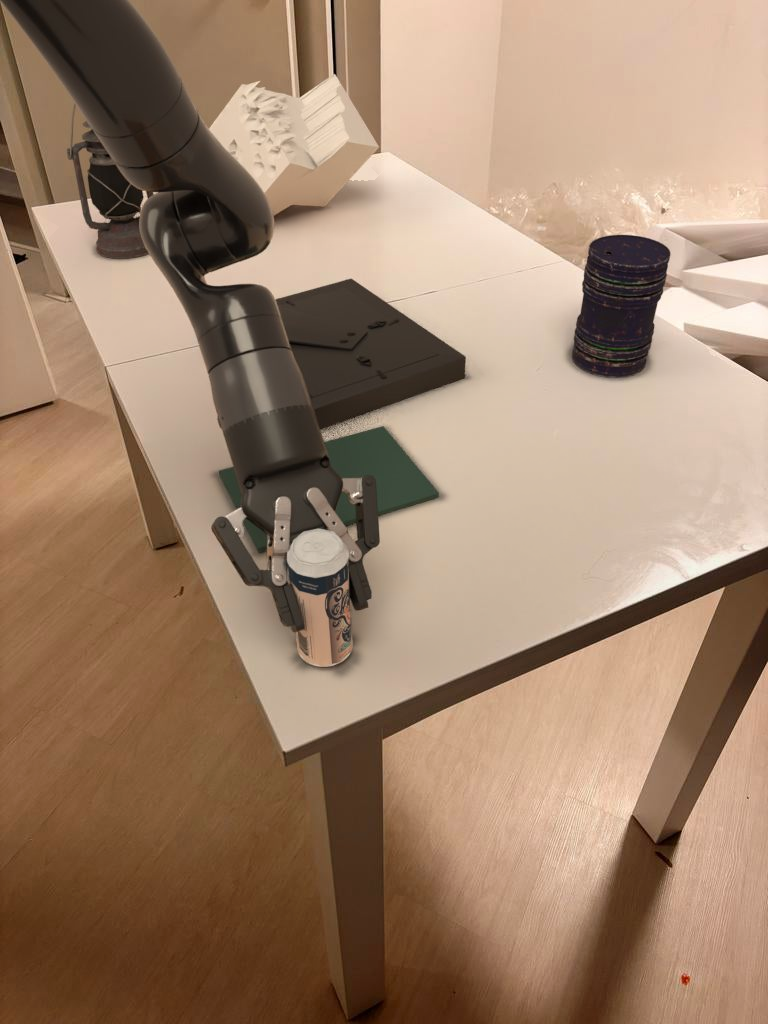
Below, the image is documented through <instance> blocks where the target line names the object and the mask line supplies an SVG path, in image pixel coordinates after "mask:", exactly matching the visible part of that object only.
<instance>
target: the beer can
mask: <svg viewBox="0 0 768 1024" xmlns="http://www.w3.org/2000/svg"><path fill="white" fill-rule="evenodd" d="M348 557H349V551H348V548H347V546H346V545H345V544H344V543H343V542H342V540H341V539H340V538H339V537H338V536H337V535H336V534H335V533H334V532H333V531H328V530H324V529H314V530H309V531H304V532H303V533H301V534H300V535H299V536H298V537H297V538H295V539H294V540H293V542H292V543H290V545H289V552H288V553H287V563H288V571H287V573H288V580H289V581H288V582H289V584H292V587H293V590H294V593H295V596H296V600H297V603H298V606H299V609H300V612H301V616H302V619H303V622H304V626H305V629H304V630H301V631H298V632H294V633H295V640H296V649H297V653H298V655H299V657H300V658H301V659H302V660H303V661H304V662H306V663H307V664H309V665H311V666H313V667H321V668H326V667H333V666H336V665H338V664H340V663H342V662H344V661H345V660H346V659H347V658H348V657H349V656H350V655H351V653H352V651H353V647H354V642H353V625H352V609H351V608H352V602H351V599H350V583H349V560H348Z"/></svg>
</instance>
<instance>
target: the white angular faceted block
mask: <svg viewBox="0 0 768 1024" xmlns="http://www.w3.org/2000/svg"><path fill="white" fill-rule="evenodd" d="M259 83H261V80H259V81H255V82H251V83H248V84H244V83H241V84H240V86H239V88H238V89H237V90H236V91H235V92H234V94H233V96H232V97H231V99H230V100H229V101H228V102H227V103H226V105H225V107H224V108H223V109H222V111H220V113H219V114H218V116H217V117H216V119H215V120H214V121H213V123H212V124H211V125H210V127H208V129H209V130H210V131H211V133H212V134H213V135H214V136H215V137H216V139H217V140H218V141H219V142H220V143H221V144H222V146H223V147H224V148H225V149H226V150H227V151H228V152H229V153H230V154H231V155H232V156H233V157H234V158H235V159H236V160H237V161H238V162H239V163H240V164H241V165H242V166H243V167H244V168H245V169H246V170H247V171H248V172H249V173H250V174H251V176H252V177H253V178H254V179H255V180H256V181H257V183H258V184H259V185H260V187H261V188H262V190H263V191H264V193H265V195H266V197H267V199H268V201H269V203H270V205H271V208H272V212H273V216H276V215H278V214H279V213H281V212H282V211H284V210H285V209H288V208H289V207H290V206H292V205H296V206H311V207H326V206H327V205H328V204H329V203H330V202H331V201H332V199H333V198H334V197H336V195H337V194H338V193H339V192H340V191H341V190H342V189H343V188H344V186H345V185H347V183H348V182H349V181H350V180H351V179H352V178H353V177H354V176H355V175H356V173H357V172H358V171H359V170H360V169H361V168H362V167H363V166H364V164H366V163H367V161H369V159H370V158H371V157H372V156H373V155H374V154H375V152H377V151H378V149H379V148H380V146H379V144H378V142H377V141H376V140H375V138H374V136H373V134H372V133H371V131H370V129H369V128H368V126H367V125H366V123H365V122H364V120H363V118H362V117H361V115H360V113H359V111H358V109H357V108H356V107H355V105H354V103H353V101H352V100H351V98H350V96H349V95H348V93H347V91H346V90H345V88H344V86H343V85H342V84H341V83H342V82H341V81H340V80H339V78H338V76H337V75H336V74H335V73H333V74H332V75H330V76H329V77H327V78H326V79H324V80H323V81H321V82H320V83H319V84H317V85H316V86H314V87H313V88H311V89H310V90H308V91H307V92H306V93H304V94H303V95H302V96H300V97H297V96H293V95H289V94H287V93H283V92H282V93H281V92H277V91H272V90H271V89H270V90H267V89H266V86H265V87H257V85H258V84H259Z"/></svg>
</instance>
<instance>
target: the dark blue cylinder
mask: <svg viewBox="0 0 768 1024" xmlns="http://www.w3.org/2000/svg"><path fill="white" fill-rule="evenodd" d="M587 251H588V252H587V258H586V264H585V265H584V270H583V280H582V282H581V286H582V287H581V291H582V294H583V295H582V300H581V307H580V313H579V314H578V316H577V317H576V318H577V319H576V322H575V329H574V334H573V349H572V353H571V359H572V362H573V363H574V365H576V367H578V368H579V369H581V370H582V371H584V372H586V373H588V374H591V375H594V376H598V377H603V378H609V379H611V378H612V379H620V378H628V377H632V376H635V375H638V374H639V373H641V372H643V370H644V369H645V368H646V365H647V357H648V355H649V353H650V350H651V347H652V343H653V336H654V333H655V323H654V321H655V316H656V312H657V307H658V304H659V301H660V300H661V298H662V296H663V293H664V287H665V285H666V280H667V277H668V274H667V272H668V267H669V263H670V259H671V255H672V254H671V250H670V248H669V247H668V246H667V245H665V244H664V243H662V242H660V241H659V240H656V239H652V238H650V237H645V236H641V235H633V234H611V235H605V236H600V237H598V238H596V239H594V240H592V241H591V242H590V243H589V245H588V250H587Z"/></svg>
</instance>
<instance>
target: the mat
mask: <svg viewBox="0 0 768 1024" xmlns="http://www.w3.org/2000/svg"><path fill="white" fill-rule="evenodd" d="M324 443H325V446H326V449H327V452H328V456H329V459H330V463H331V465H332V467H333V468H334V470H335V471H336V472H337V473H338V474H339V475H340V476H341V478H362V477H363V476H365V475H371V476H373V477H374V478H375V480H376V491H377V506H378V517H379V516H382V515H385V514H389V513H393V512H395V511H399V510H402V509H405V508H408V507H411V506H415V505H418V504H421V503H424V502H428V501H430V500H434V499H437V498H440V491H438V489H436V487H435V486H434V485H433V484H432V483H431V481H430V480H429V479H428V478H427V477H426V475H425V474H424V472H422V470H420V468H419V467H418V466H417V465H416V464H415V462H414V461H413V460H412V459H411V457H410V456H409V454H407V453H406V451H405V450H404V449H403V448H402V447H401V445H400V444H399V443H398V442H397V441H396V439H395V438H394V437H393V436H392V434H390V433H389V431H388V430H387V429H386V428H385V426H384V425H382V426H379V427H374V428H371V429H368V430H363V431H360V432H357V433H352V434H348V435H345V436H341V437H338V438H333V439H331V440H327V441H324ZM218 476H219V478H220V480H221V482H222V483H223V486H224V488H225V490H226V491H227V493H228V495H229V497H230V500H231V502H232V503H233V505H234V507H235V510H236V509H238V508H240V500H241V490H240V486H239V483H238V480H237V476H236V473H235V470H234V467H233V466H231V467H227V468H223V469H219V470H218ZM335 513H336V514H337V516H338V517H339V518H340V520H341V521H342V522H343V524H344V525H345V526H350V525H353V524H356V511H355V504H352V503H350V502H349V500H348V496H347V494H346V493H345V492H343V491H342V492H341V495H340V498H339V501H338V504H337V508H336V511H335ZM332 524H333V525H334V523H332ZM243 526H244V528H245V529H246V531H247V533H248V535H249V537H250V539H251V541H252V543H253V545H254V546H255V549H256V551H257V553H262V552H267V534H266V533H264V532H263V531H262V530H260V529H259V528H258V527H256V526H255V525H254V524H252V523H251V522H250V521H248V520H247V519H246V518H245V519H244V521H243ZM292 543H293V541H291V542H290V543H289V544H292Z"/></svg>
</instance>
